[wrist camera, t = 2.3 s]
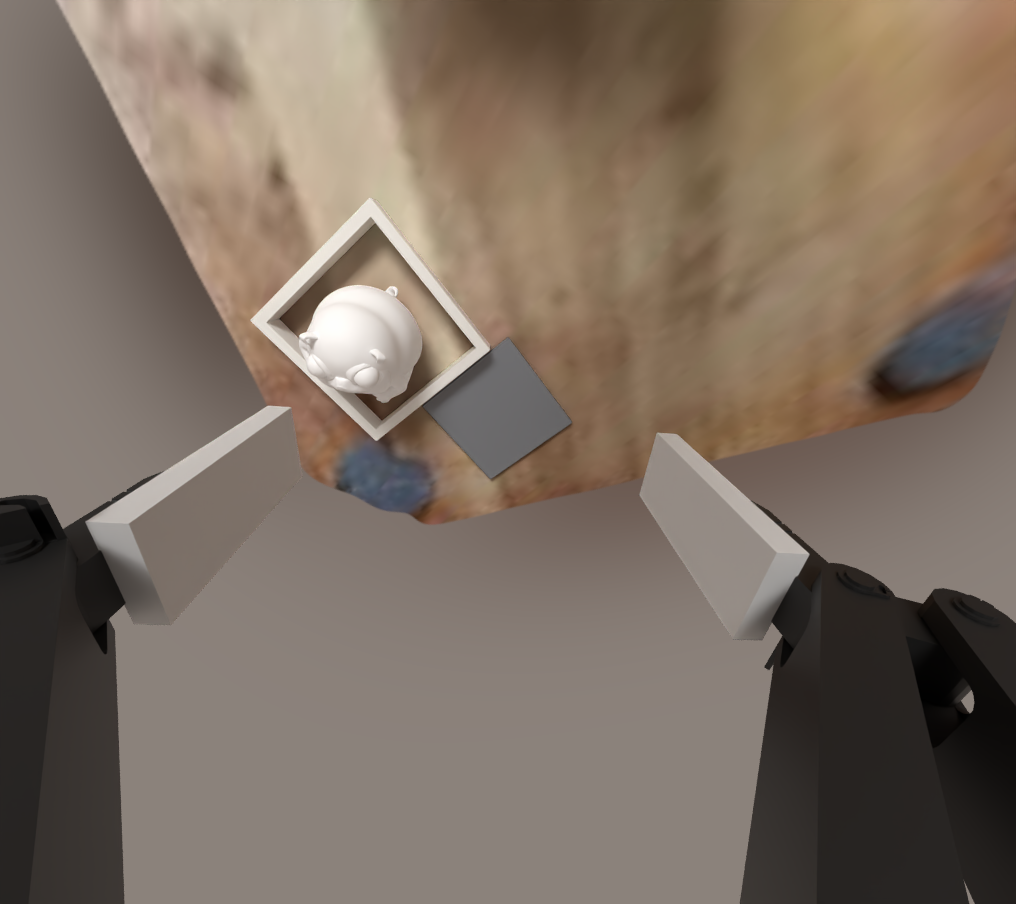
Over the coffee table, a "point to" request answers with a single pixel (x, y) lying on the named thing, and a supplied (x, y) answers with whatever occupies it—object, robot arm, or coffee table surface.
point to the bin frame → (318, 267)
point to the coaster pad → (498, 409)
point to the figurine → (362, 342)
